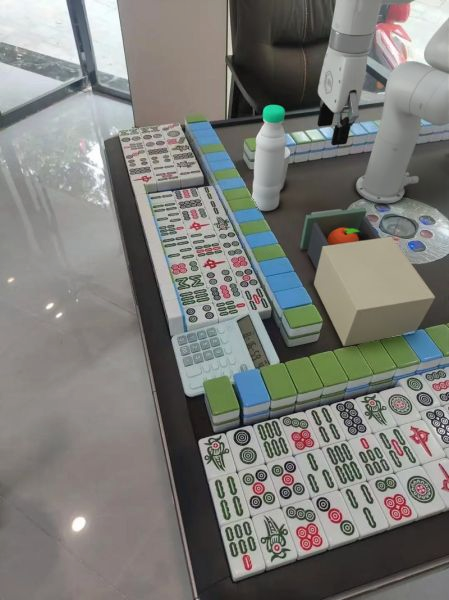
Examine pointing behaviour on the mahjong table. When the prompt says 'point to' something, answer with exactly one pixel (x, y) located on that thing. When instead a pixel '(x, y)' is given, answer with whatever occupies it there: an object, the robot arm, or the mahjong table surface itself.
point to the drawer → (328, 221)
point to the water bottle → (269, 159)
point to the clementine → (342, 236)
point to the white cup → (285, 166)
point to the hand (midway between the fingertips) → (331, 133)
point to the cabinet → (371, 290)
